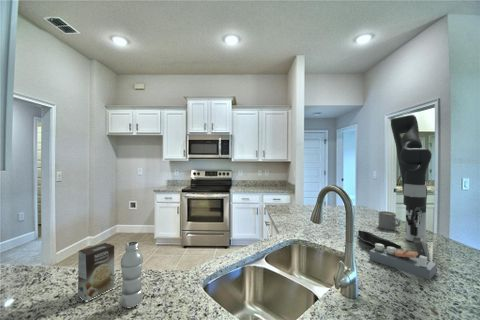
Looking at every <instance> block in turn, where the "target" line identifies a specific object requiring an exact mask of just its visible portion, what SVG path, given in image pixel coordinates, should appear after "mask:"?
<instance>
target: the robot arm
mask: <svg viewBox="0 0 480 320" xmlns="http://www.w3.org/2000/svg"><path fill="white" fill-rule="evenodd" d="M390 128H391V131H392V135H393V139H394V144H395V148H396V156H397V163H398V167H399V171H400V177H401V178H400V179H401V189H402V195H403V203H402V204H403V205H404V206H405V240H407V241H410V242H412V243H414V238H420V236H423V238H424V241H425V243H427V197H428V187H427V184H426V176H427V170H428V167H429V164H430V163H431V159H432V152H431V150H430V149H429V148H426V147H423V145H422V144H423V143H422V141H421V138H420V132H419V131H420V129H419V123H418V119H417V116H416V115H414V114H411V113H410V114H406V115H402V116H397V117H393V118H392V119H390ZM401 134H403V135H402V136H401Z"/></svg>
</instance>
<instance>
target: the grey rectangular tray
mask: <svg viewBox="0 0 480 320" xmlns="http://www.w3.org/2000/svg"><path fill="white" fill-rule="evenodd" d="M371 259H372V260H371ZM369 260H371V261H373V262H376V261H377V263H379V264H382V265H386V266H387V267H391V268H393V267H394V268H393V269H397V270H399V271H402V272H404V273H408V274H410V273H411V274H410V275H413V274H414V276H416V275H417V276H416V277H419V278H422V279H426V280H429V281H430V279H431V280H432V278H433V277H434V276H435V275H436V273H437V263H435V262H432V261H428V260H427V266H426V267H422V266H419V257H415V258H410V257H401V256H395V255H391V254H388V253H387V248H384V251H377V250H375V247H374V248H372V249H370V250H369Z"/></svg>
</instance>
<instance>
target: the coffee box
mask: <svg viewBox="0 0 480 320" xmlns="http://www.w3.org/2000/svg"><path fill="white" fill-rule="evenodd" d="M77 263H78V264H77V265H78V270H77V277H78V278H77V297H78V296H79V297H81V298H82V299H84V300H90V299H92V298H94V297H96V296H98V295H100V294H102V293H104V292H106V291H108V290H110V289H112V288H114V289H115V245H114V244H111V243H107V242H103V243H99V244H96V245H93V246H89V247H87V248H84V249H79V250H78V262H77Z"/></svg>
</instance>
